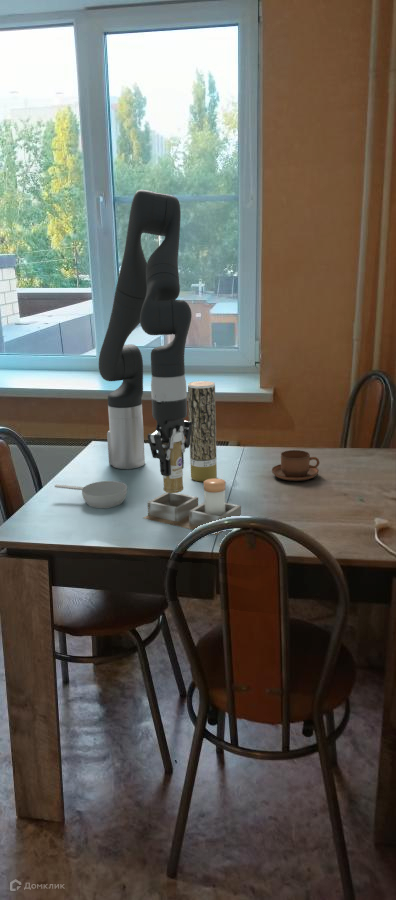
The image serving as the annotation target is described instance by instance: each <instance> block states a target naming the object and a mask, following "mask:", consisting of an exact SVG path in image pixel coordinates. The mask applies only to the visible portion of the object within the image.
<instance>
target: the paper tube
mask: <svg viewBox="0 0 396 900" xmlns="http://www.w3.org/2000/svg"><path fill="white" fill-rule="evenodd" d="M215 383H216V382H214V381H208V380H207V381H206V380H205V381H203V380H202V381H199V380H198V381H191V382H188V384H187V407H188V421H190V422H192V430H191V437H190V445H189V458H190V459H189V462H190V463H189V464H190V478H191V479H192V480H193V481H195V482H203V483H204V481H205V480H207V479H214V478H217V475H218V474H217V473H218V471H217V469H218V468H217V463H218V462H217V461H218V460H217V458H218V457H217V419H216V417H217V416H216V413H217V412H216V385H215Z"/></svg>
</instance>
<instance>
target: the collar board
mask: <svg viewBox="0 0 396 900" xmlns="http://www.w3.org/2000/svg"><path fill="white" fill-rule="evenodd" d="M146 505H147V515H145V516H144V517H143V519H144V520H148V521H149V520H150V521H152V522H153V521H154V522H159V523H162V524H165V525H171V526H176V527H180V528H183V529H188V530H192V531H195V530H194V529H195V528H197V527H198V526H200V525H203V524H206V523H209V522H212V521H216V520H219V519H222V518H226V517H231V516H240V515H242V506H241V505H239V504H234V503H228V502H225V514H223V515H221V516H216V515H212V514H207V513H205V501H204V502H202V503H201V504H199V496H193V495H189V494H184V493H181V492H177V493H168V492H164V493H163V494H161V495H159V496H157V497H154V498H153V499H151V500H150V501H147V503H146ZM220 533H222V532H219V533H215V534H212V535H215V536H217V535H219V534H220Z"/></svg>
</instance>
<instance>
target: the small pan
mask: <svg viewBox="0 0 396 900" xmlns="http://www.w3.org/2000/svg"><path fill="white" fill-rule="evenodd" d="M54 488H56V489H67V490H77V491H81V494H82V499H83V500H84V502H85V503H86V504H87V505H88V506H89V507H91V508H96V509H108V508H114V507H118V506H120V505H121V504H123V502H124V501H125V499H126V497H127V495H128V485H126V483H124V482H121V481H116V480H106V481H96V482H91V483H89V484H86V485H85V486H76V485H67V484H60V483H59V484H58V483H57V484H54Z"/></svg>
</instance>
